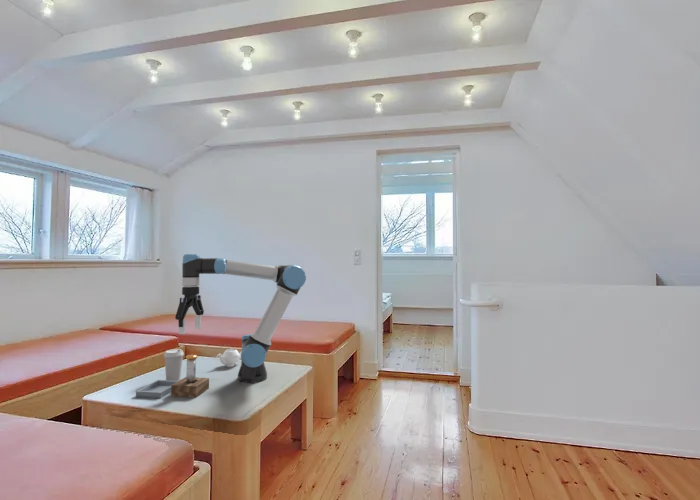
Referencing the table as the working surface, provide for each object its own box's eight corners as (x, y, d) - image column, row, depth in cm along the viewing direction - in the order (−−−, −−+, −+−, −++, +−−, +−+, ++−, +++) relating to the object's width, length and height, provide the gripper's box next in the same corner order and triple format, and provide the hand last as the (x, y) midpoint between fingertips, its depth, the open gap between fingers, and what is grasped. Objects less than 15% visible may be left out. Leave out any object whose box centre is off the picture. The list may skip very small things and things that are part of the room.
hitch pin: (198, 390, 174) (199, 354, 174) (192, 394, 169) (193, 357, 169) (188, 390, 174) (189, 354, 175) (182, 393, 169) (183, 357, 170)
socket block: (208, 388, 177) (209, 378, 177) (196, 397, 165) (196, 386, 165) (185, 387, 178) (185, 376, 178) (171, 396, 166) (171, 385, 166)
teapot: (210, 367, 211) (211, 351, 211) (240, 360, 226) (241, 345, 226) (219, 371, 204) (219, 354, 205) (249, 363, 220) (250, 348, 220)
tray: (180, 386, 179) (181, 381, 179) (160, 398, 163) (160, 392, 163) (158, 385, 180) (158, 380, 181) (135, 397, 165) (136, 391, 165)
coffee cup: (175, 383, 182) (176, 353, 183) (158, 382, 184) (159, 352, 185) (187, 378, 192) (188, 349, 192) (171, 376, 194) (172, 348, 194)
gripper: (197, 284, 187) (196, 326, 186) (167, 288, 162) (166, 336, 161) (211, 284, 186) (210, 326, 185) (182, 288, 161) (182, 336, 160)
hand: (190, 331), depth 173 cm, fingers open, 13 cm apart
